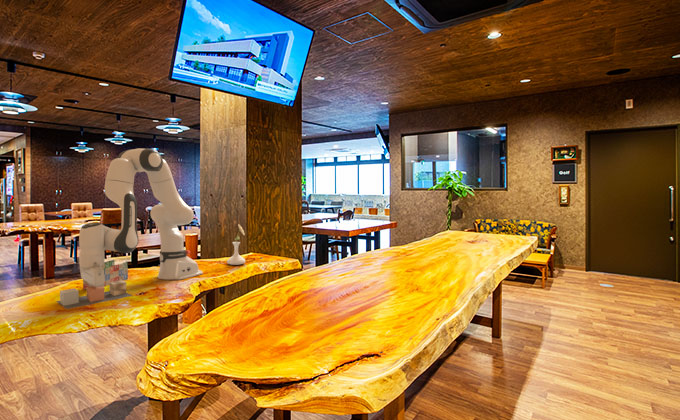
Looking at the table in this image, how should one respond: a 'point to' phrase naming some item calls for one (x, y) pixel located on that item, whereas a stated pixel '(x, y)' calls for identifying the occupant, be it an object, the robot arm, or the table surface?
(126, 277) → the stack of blocks
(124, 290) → the birch block
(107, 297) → the charcoal mat
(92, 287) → the terracotta block
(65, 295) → the light gray cube
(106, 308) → the table surface
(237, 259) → the flower in vase
